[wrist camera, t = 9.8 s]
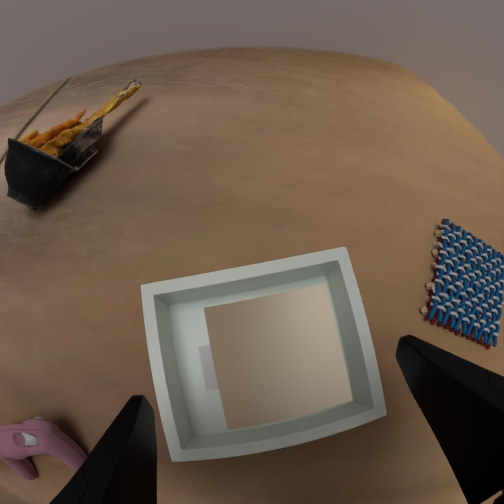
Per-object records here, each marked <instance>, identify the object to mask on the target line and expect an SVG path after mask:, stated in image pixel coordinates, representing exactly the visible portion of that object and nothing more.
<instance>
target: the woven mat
mask: <svg viewBox="0 0 504 504" xmlns="http://www.w3.org/2000/svg"><path fill="white" fill-rule="evenodd" d="M449 221H450V220H449V219H444V218H443V220H442V225H441V223H440V224H438V223H436V222H435V226H436V227H438V228H439V229H440V230H435V237H438V241H439V242H438V243H437V242H435V241H433V244H432V246H434V247H435V248H437V249H438V251H437V249H435V250H432V254H433V257H434V258H436V259H437V262H432V267H431V268H433V269H435V274H433V273H430V279H432V282H427V284H426V290H429V292H430V296H427V295H425V294H423V299H424V300H426V301H428V302H429V304H428V308H427V307H426V306H424V307H422V308H421V312H422V314H423V315H424V316H426V319H425V320H428V321H429V320H430V319H432V321H431V324H433V325H434V324H435V322H436V321H437V322H439V323H438V326H441V327H442V326H443V325H444V326H445V328H446V329H449V328H452V329H451V331H453V332H456V335H459V334H460V332H461V333H463V336H464V337H467V336H468V338H467V339H471V338H473V341H474V342H476V341H478V344H482V342H483V346H486V348H487V349H489V348H490V345H492V346H494V347H496V345H497V337H498V332H501V329H500V328H499V326H500V322H499V319H500V317H501V316H502V317H503V314H502V312H501V310H502V305H501V304H504V302H502V301H503V296H504V293H503V290H504V280H503V278H504V256H503V255H501V253H500V252H498V254H497V252H496V251H495V250H494V249H491V248H492V247H491V246H490V245H489V246H488V245H486V244H485V243H483V245H482V240H481V239H479V240H478V239H476V237H475V236H472V234H471V233H467V232H466V231H465V230H462V232H461V227H460V226H458V227H457V226H456V225H454V224H453V223H451V224H450V223H449ZM501 259H502V260H501ZM496 266H497V267H496ZM500 276H501V277H500ZM462 284H463V285H464V286H463V285H462ZM498 295H499V296H498ZM484 296H485V298H484ZM485 320H486V321H485ZM496 336H497V337H496Z"/></svg>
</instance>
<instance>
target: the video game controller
mask: <svg viewBox="0 0 504 504" xmlns="http://www.w3.org/2000/svg"><path fill="white" fill-rule="evenodd" d="M43 454H48V455H52V456H54V457H55V458H57V459H58V460H60V461H61V462H63V463H64V464H66V465H67V466H68V467H70V468H71V469H72V470H74V471H75V472H77V470H78V469H79V467H80V466H82V463H83V462H84V461H85V459H86V458H87V457H88V456H87V455H86V453H85V452H84V451H83V450H82V449H81V447H80V446H79V445H78V444H77V443H76V442H75V441H73V440H72V439H71V438H70V437H69V436H67V435H66V434H65V433H63V432H62V431H61V430H60V428H59V427H58V426H57V425H55V424H53V423H51V422H47V420H46V419H44V418H43V417H36V418H34V419H30V420H25V421H23V423H22V424H9V425H2V426H0V459H1V460H3V461H4V462H5V463H7V464H8V465H9V466H10V467H11V468H12V469H13V470H14V471H16V472H17V473H18V474H19V475H20V476H22V477H23V478H25V479H28V480H34V479H35V478H36V475H37V473H36V470H35V468H34V466H33V464H32V463H31V461H30V460H29V459H28V457H29V456H33V455H43Z"/></svg>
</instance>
